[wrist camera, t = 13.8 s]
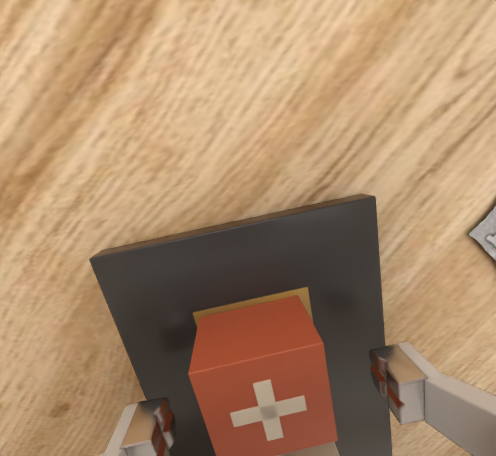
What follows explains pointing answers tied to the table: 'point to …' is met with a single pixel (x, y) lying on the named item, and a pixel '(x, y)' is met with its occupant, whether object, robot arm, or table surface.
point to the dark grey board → (252, 293)
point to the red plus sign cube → (262, 380)
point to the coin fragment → (487, 233)
